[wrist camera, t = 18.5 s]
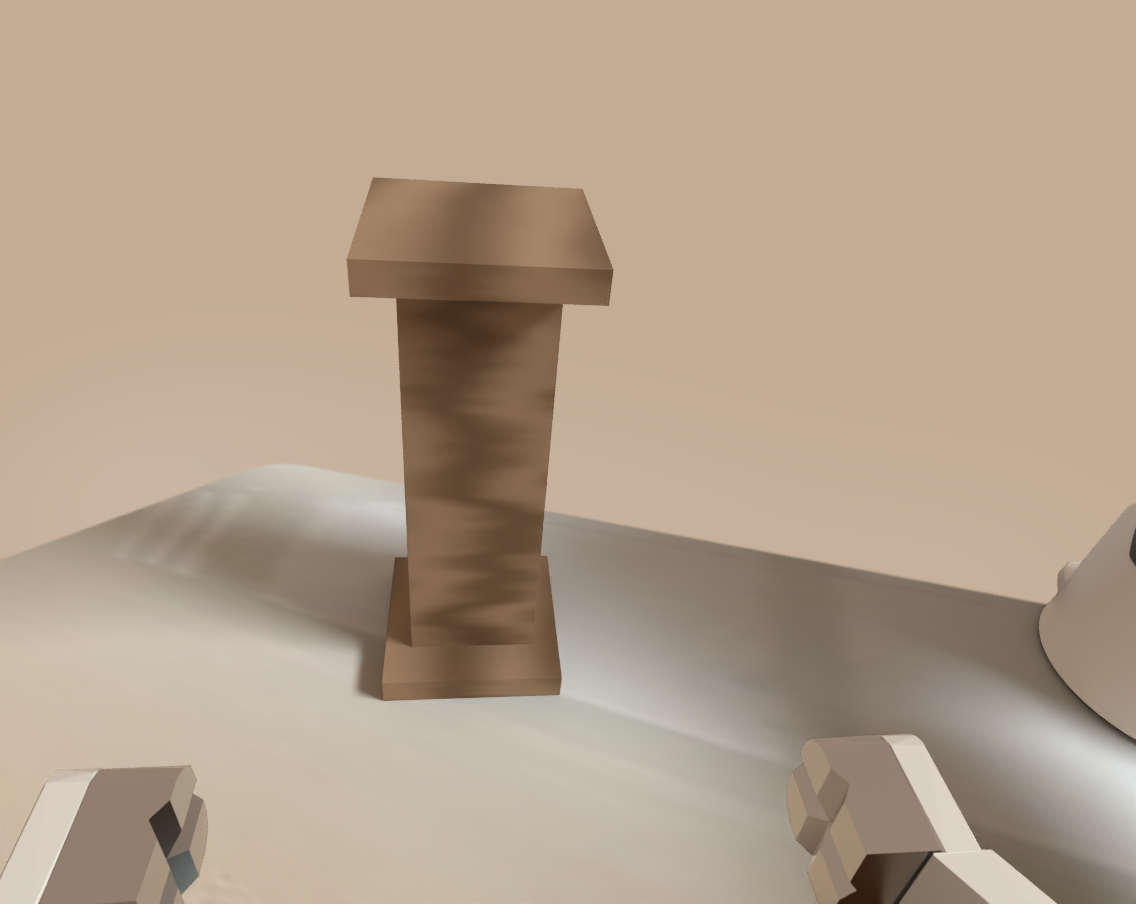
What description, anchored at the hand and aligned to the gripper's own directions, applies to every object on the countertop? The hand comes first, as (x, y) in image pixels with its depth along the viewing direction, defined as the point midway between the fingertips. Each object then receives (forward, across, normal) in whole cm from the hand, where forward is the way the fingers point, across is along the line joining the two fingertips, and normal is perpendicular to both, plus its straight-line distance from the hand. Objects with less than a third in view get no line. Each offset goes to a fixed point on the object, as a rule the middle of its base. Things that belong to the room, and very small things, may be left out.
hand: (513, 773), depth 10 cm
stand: (+27, 0, -28) cm, 39 cm away
